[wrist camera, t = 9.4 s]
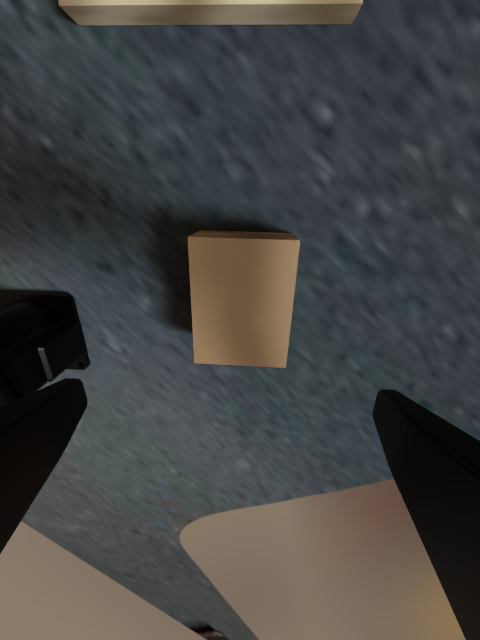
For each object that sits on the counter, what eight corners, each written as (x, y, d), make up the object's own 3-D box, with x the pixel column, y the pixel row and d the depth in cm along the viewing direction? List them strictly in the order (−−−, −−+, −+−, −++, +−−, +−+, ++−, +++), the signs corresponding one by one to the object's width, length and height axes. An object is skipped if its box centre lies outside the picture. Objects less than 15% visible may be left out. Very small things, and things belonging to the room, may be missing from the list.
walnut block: (204, 335, 21) (194, 363, 17) (201, 229, 18) (187, 236, 14) (280, 338, 21) (285, 367, 17) (290, 232, 18) (300, 240, 14)
